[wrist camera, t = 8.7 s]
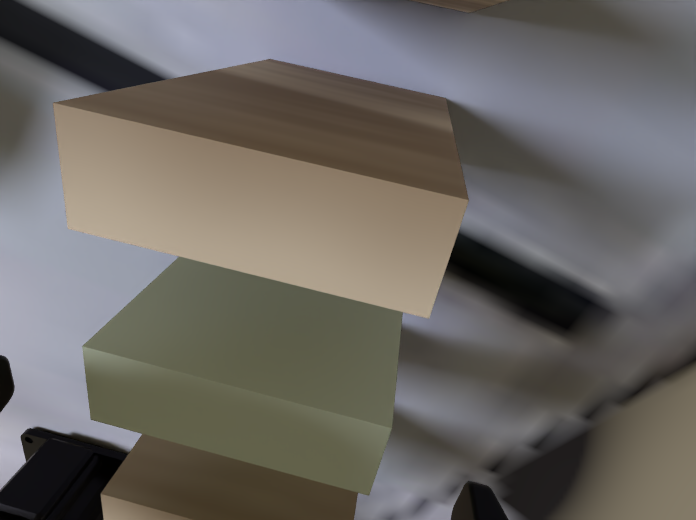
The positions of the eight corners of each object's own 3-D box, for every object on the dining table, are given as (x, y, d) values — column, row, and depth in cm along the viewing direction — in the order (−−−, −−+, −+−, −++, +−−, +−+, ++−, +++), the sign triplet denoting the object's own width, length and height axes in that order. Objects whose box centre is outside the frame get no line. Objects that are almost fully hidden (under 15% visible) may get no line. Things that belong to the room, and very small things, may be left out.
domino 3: (374, 353, 20) (332, 605, 11) (244, 320, 20) (106, 541, 12) (384, 317, 19) (347, 562, 10) (248, 283, 20) (100, 493, 11)
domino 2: (398, 266, 18) (369, 495, 9) (253, 230, 18) (91, 419, 10) (411, 221, 17) (391, 428, 8) (257, 184, 17) (81, 346, 9)
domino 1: (429, 156, 16) (428, 318, 7) (264, 119, 16) (67, 228, 7) (445, 98, 15) (468, 200, 6) (270, 59, 15) (53, 102, 6)
